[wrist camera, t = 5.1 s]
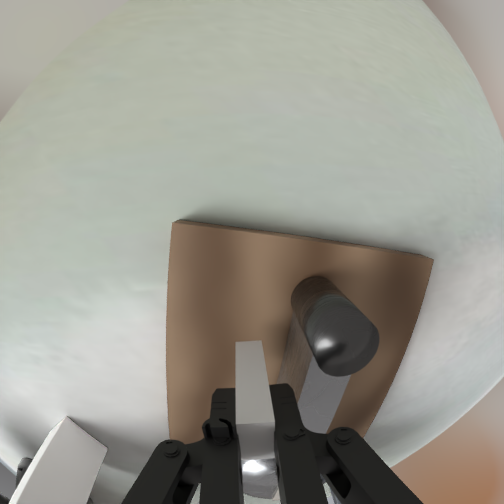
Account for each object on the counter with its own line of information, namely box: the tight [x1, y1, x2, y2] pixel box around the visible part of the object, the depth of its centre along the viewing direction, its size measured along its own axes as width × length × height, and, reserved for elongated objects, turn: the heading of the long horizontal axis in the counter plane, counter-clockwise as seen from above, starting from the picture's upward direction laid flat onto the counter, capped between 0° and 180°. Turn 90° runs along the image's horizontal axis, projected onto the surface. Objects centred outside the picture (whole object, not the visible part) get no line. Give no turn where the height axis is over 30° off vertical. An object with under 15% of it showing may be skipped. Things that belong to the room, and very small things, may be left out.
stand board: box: [166, 220, 434, 444], centre depth 19 cm, size 18×24×2 cm
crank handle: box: [241, 276, 380, 500], centre depth 15 cm, size 18×7×6 cm, turn 172°
